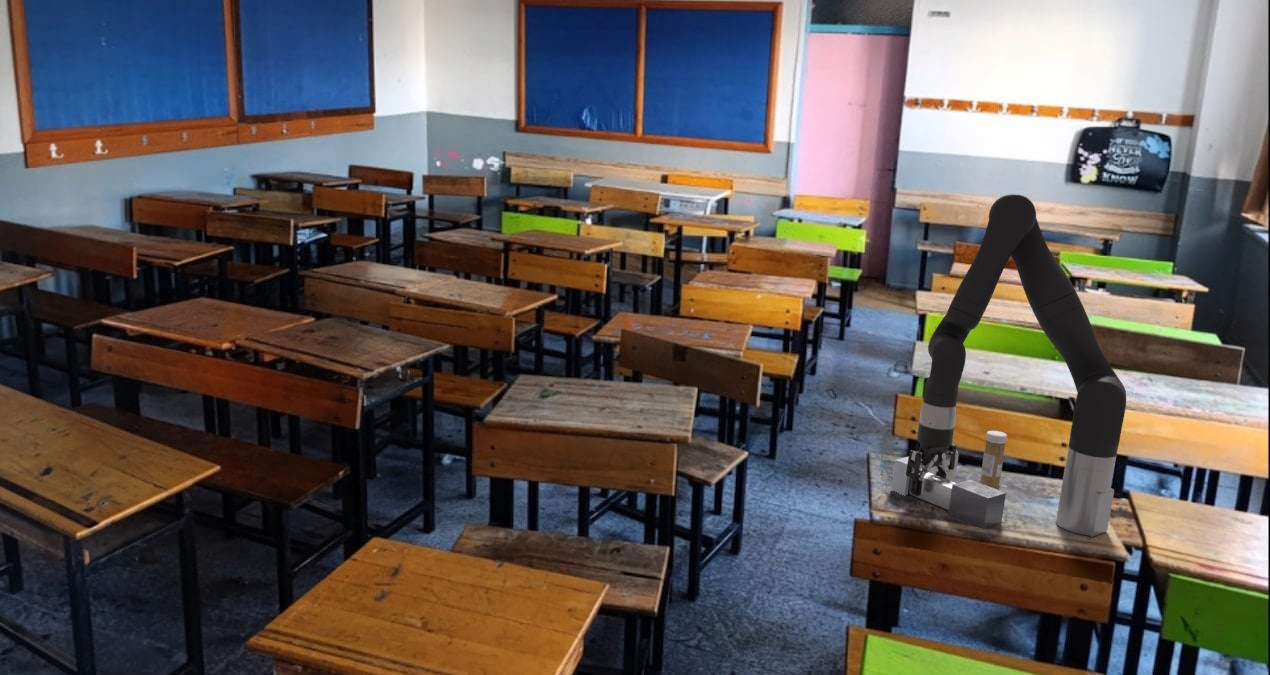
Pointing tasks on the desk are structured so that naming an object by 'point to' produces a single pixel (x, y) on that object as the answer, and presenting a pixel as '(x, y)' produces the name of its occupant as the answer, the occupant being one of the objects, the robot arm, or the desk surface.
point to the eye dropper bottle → (952, 473)
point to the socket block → (901, 476)
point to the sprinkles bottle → (993, 459)
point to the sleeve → (977, 503)
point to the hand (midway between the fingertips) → (927, 491)
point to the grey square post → (934, 490)
